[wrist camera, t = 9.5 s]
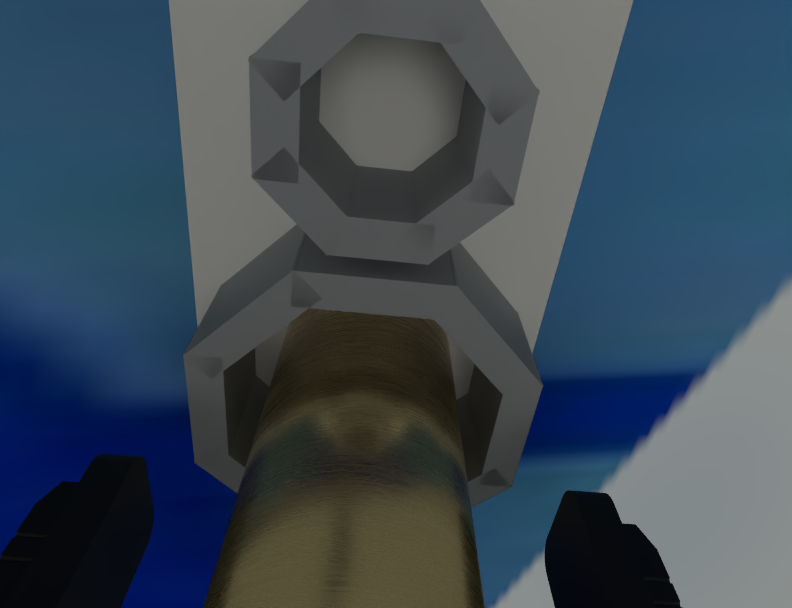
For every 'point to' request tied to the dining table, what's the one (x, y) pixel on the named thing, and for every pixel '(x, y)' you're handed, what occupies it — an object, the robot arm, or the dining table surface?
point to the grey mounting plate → (383, 190)
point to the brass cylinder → (354, 475)
